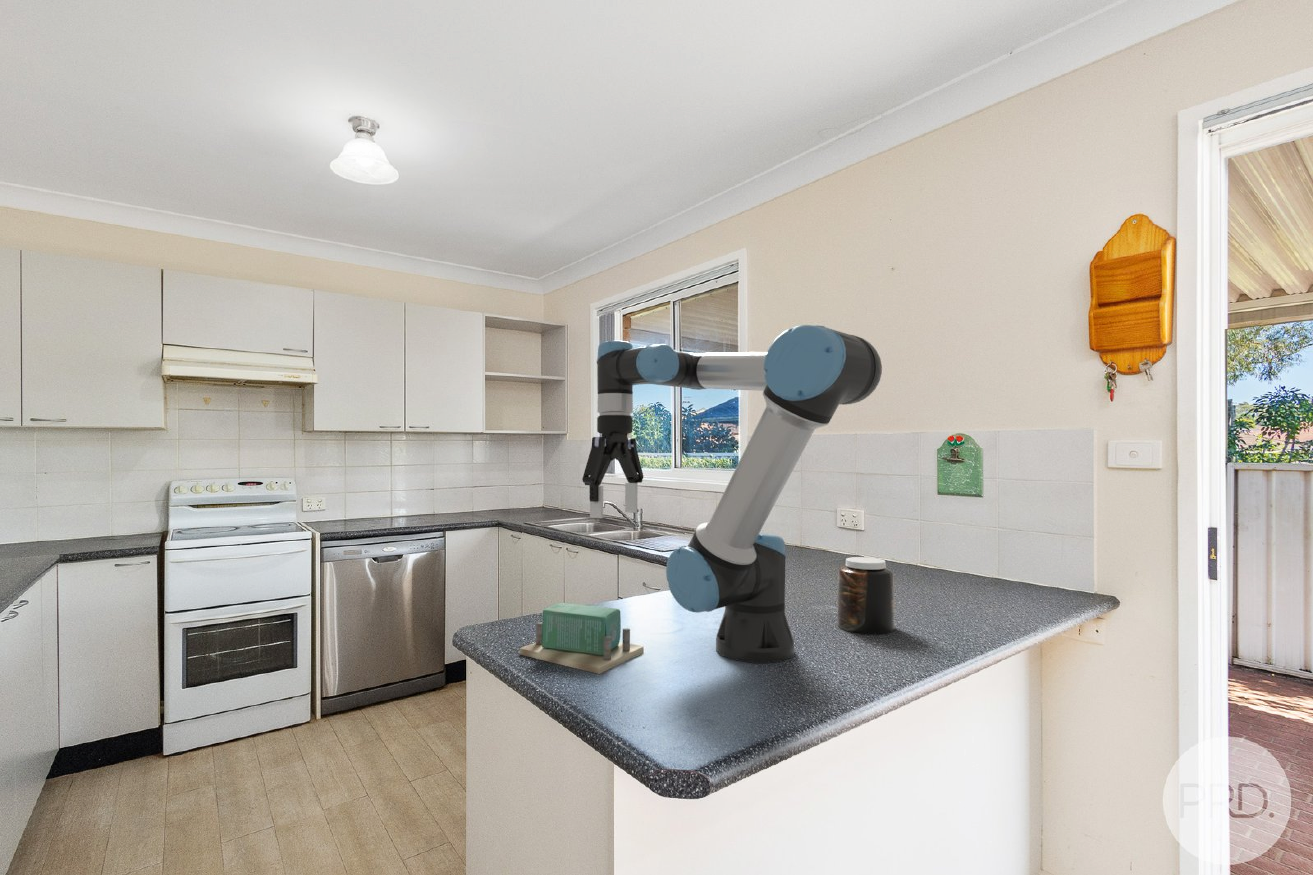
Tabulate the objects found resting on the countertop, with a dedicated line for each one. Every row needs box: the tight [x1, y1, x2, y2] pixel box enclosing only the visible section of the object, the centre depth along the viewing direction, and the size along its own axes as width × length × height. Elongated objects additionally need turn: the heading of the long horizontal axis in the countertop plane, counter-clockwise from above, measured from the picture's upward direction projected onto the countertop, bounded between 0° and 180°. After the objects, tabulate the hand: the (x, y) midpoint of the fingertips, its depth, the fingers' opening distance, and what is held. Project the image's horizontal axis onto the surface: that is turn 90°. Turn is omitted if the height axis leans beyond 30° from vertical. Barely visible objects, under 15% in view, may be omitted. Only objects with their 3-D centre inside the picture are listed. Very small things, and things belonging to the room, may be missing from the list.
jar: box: [837, 556, 895, 635], centre depth 141 cm, size 12×12×15 cm
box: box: [542, 602, 622, 656], centre depth 122 cm, size 7×14×8 cm, turn 71°
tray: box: [519, 621, 645, 675], centre depth 122 cm, size 19×14×5 cm
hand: (614, 515), depth 134 cm, fingers open, 13 cm apart
